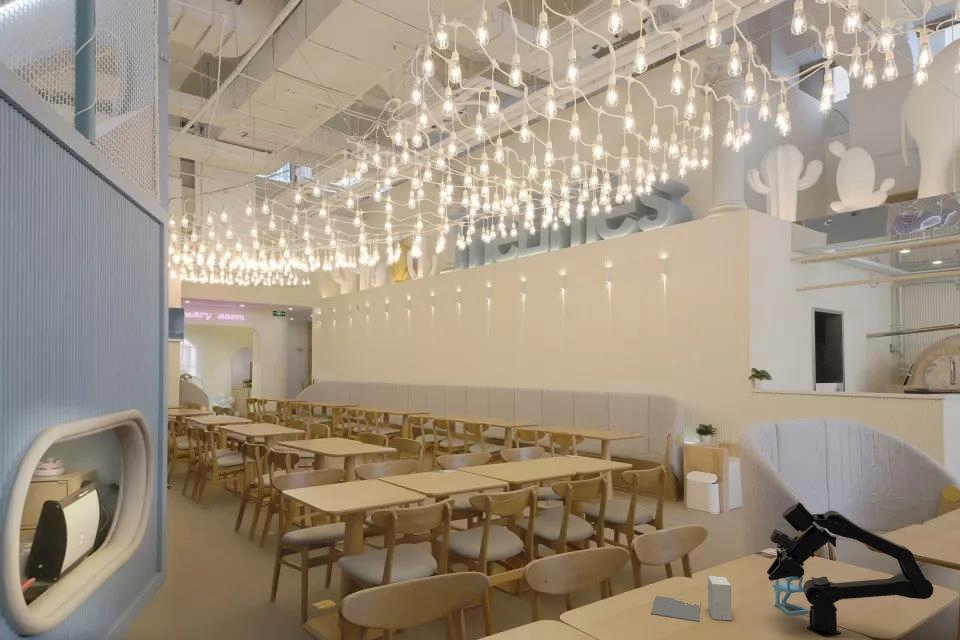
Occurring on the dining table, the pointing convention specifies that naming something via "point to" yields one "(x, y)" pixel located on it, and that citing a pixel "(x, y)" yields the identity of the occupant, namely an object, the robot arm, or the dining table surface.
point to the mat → (675, 609)
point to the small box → (719, 598)
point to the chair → (788, 589)
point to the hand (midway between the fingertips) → (768, 576)
